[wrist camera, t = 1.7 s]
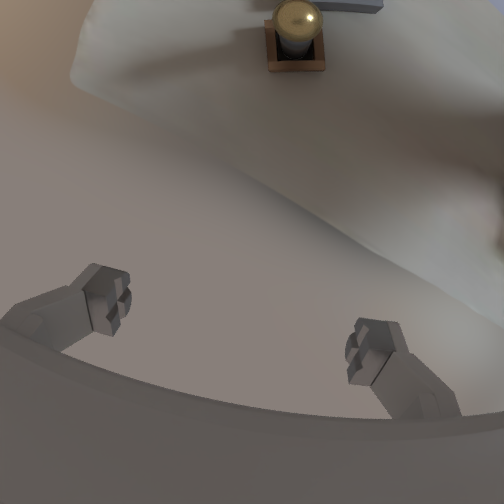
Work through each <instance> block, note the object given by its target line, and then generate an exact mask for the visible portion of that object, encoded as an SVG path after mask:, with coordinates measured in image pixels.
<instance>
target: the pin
mask: <svg viewBox="0 0 504 504" xmlns="http://www.w3.org/2000/svg"><path fill="white" fill-rule="evenodd" d="M272 22H273V26H274V28H275V30H276V31H277V33H278V34H279V37H280V43H281V48H282V52H283V53H284V55H285V56H286V57H288V58H290V59H300V58H302V57H304V56H305V55H306V53H307V51H308V49H309V46H310V44H311V41H312V39H313V38H314V37H316V36H317V35H318V34H319V32H320V31H321V29H322V26H323V16H322V14H321V12H320V10H319V8H318V7H317V6H316V5H315V4H314V3H312V2H310V1H309V0H284V1H282V2H281V3H280V4H278V5H277V7H276V8H275V10H274V12H273V15H272Z"/></svg>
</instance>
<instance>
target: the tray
mask: <svg viewBox="0 0 504 504" xmlns="http://www.w3.org/2000/svg"><path fill="white" fill-rule="evenodd" d="M309 1H310V2H312V3H314V4H315V5H316V6H317V7H318V8H319V10H338V11H353V12H364V13H374V14H376V13H377V12H378V11H379V10H381V9H382V8H383V7H384V5H383V0H309Z"/></svg>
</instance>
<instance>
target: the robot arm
mask: <svg viewBox="0 0 504 504" xmlns="http://www.w3.org/2000/svg"><path fill="white" fill-rule="evenodd" d="M129 284H130V275H129V273H127V272H125V271H121V270H118V269H114V268H110V267H106V266H102V265H99V264H95V263H92V264H90V265H89V266H88V267H87V268H86V269H85V270H84V271H83V272H82V273H81V274H80V275H79V276H78V277H77V278H76V279H75V280H74V281H73V282H72V284H71V285H70V286H63V287H60V288H57V289H55V290H52V291H49V292H47V293H44V294H41V295H38V296H36V297H33V298H30V299H28V300H25V301H23V302H20V303H17V304H15V305H14V306H13V307H12V308H11V309H10V310H9V311H8V312H7V313H6V314H5V315H4V316H3V317H2V319H1V320H0V504H504V411H502V412H495V413H487V414H480V415H470V416H462V415H461V412H460V409H459V405H458V403H457V400H456V397H455V394H454V392H453V391H452V390H451V389H450V388H449V387H448V386H447V385H446V384H445V383H444V382H443V381H442V380H441V379H440V378H439V377H437V376H436V375H435V374H434V373H433V372H432V371H431V370H430V369H429V368H428V367H427V366H426V365H425V364H424V363H422V361H420V360H419V359H418V358H417V357H416V356H415V355H414V354H411V353H409V350H408V347H407V344H406V341H405V339H404V336H403V333H402V330H401V327H400V325H399V323H398V322H393V321H381V320H373V319H366V318H358V320H357V321H356V323H355V325H354V327H355V332H354V333H352V334H351V335H350V336H349V338H348V340H347V344H346V348H345V358H346V361H347V362H348V363H349V364H350V365H349V367H348V369H347V374H348V381H349V384H354V385H362V386H371V387H370V388H371V389H372V391H373V392H374V393H375V395H376V396H377V398H378V399H379V400H380V402H381V403H382V404H383V406H384V407H385V409H386V410H387V412H388V413H389V414H390V416H391V417H392V419H362V418H361V419H360V418H342V417H329V416H317V415H307V414H298V413H290V412H282V411H275V410H268V409H261V408H256V407H249V406H244V405H238V404H233V403H228V402H223V401H218V400H213V399H209V398H204V397H199V396H195V395H191V394H187V393H183V392H179V391H175V390H171V389H167V388H164V387H160V386H156V385H153V384H149V383H146V382H143V381H139V380H136V379H133V378H130V377H126V376H123V375H120V374H117V373H114V372H111V371H108V370H106V369H103V368H100V367H97V366H94V365H92V364H89V363H86V362H84V361H81V360H78V359H76V358H73V357H71V356H68V355H66V354H63V353H61V351H63V350H64V349H66V348H67V347H69V346H71V345H73V344H74V343H76V342H77V341H79V340H81V339H82V338H84V337H85V336H87V335H89V334H91V333H92V332H93V331H94V332H98V333H101V334H104V335H108V336H112V337H113V336H114V335H115V333H116V331H117V330H118V328H119V327H120V325H121V324H120V319H122V318H124V317H126V315H127V314H128V312H129V309H130V306H131V300H132V295H131V291H130V290H129V288H128V287H127V286H128V285H129Z"/></svg>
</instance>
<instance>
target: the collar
mask: <svg viewBox="0 0 504 504" xmlns="http://www.w3.org/2000/svg"><path fill="white" fill-rule="evenodd" d="M264 23H265V34H266V46H267V58H268V70H269V72H291V71H324V70H325V57H324V44H323V33H322V29H321V31H320V32H319V34H318V35H317V36H316V37H314V38H313V39H312V53H313V60H305V61H278V54H277V42H276V33H277V31H276V30H275V28H274V26H273V22H272V20H264Z"/></svg>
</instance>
